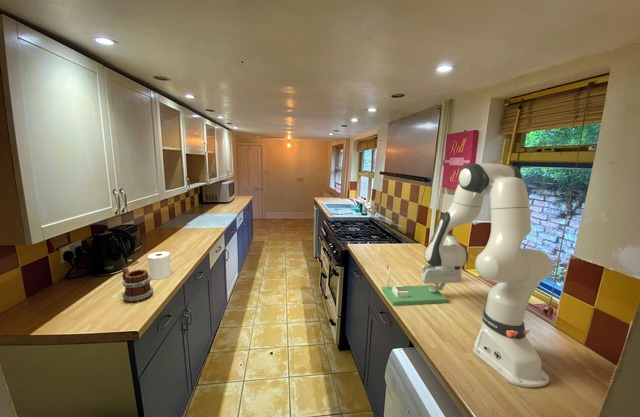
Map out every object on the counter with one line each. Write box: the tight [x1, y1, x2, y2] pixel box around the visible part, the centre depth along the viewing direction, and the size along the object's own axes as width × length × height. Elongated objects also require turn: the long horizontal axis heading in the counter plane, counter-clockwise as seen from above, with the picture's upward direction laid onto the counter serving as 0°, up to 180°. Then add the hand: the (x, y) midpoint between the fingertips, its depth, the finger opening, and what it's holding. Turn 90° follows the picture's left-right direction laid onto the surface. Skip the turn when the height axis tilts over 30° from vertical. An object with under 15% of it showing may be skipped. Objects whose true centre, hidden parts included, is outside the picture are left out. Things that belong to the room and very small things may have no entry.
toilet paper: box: [147, 251, 172, 280], centre depth 142 cm, size 10×10×12 cm
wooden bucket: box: [121, 267, 154, 304], centre depth 121 cm, size 12×14×15 cm
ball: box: [429, 285, 436, 292], centre depth 132 cm, size 3×3×3 cm
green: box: [381, 263, 449, 306], centre depth 130 cm, size 16×28×14 cm, turn 98°
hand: (439, 289), depth 132 cm, fingers closed
